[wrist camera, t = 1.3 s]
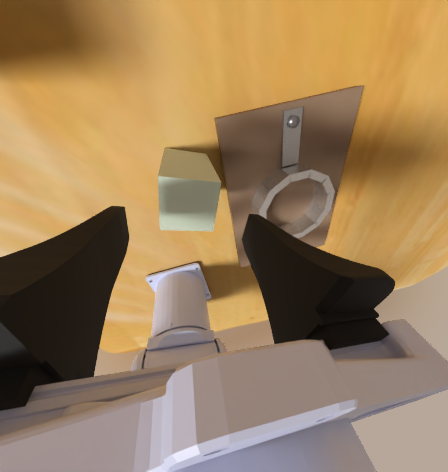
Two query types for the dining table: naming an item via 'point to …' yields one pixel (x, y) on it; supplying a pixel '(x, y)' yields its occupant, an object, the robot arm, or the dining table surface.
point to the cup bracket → (287, 163)
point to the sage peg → (187, 191)
